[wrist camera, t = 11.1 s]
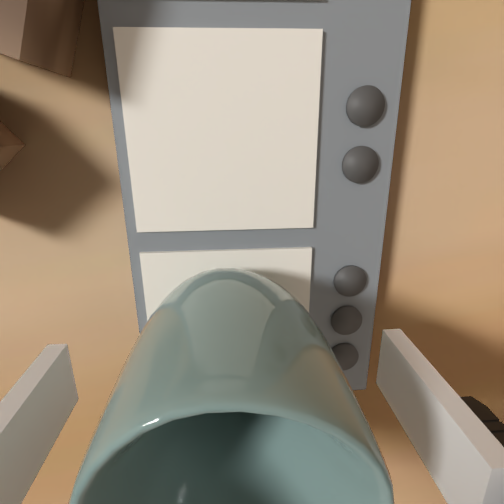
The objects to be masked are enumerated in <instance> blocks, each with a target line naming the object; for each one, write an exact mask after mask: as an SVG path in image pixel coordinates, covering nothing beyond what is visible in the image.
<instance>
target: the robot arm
mask: <svg viewBox="0 0 504 504" xmlns="http://www.w3.org/2000/svg"><path fill="white" fill-rule="evenodd" d="M376 384H377V385H378V387H379V389H380V390H381V392H382V394H383V395H384V397H385V399H386V401H387V402H388V404H389V406H390V407H391V409H392V411H393V412H394V414H395V416H396V417H397V419H398V421H399V422H400V424H401V426H402V428H403V429H404V431H405V433H406V434H407V436H408V438H409V439H410V441H411V443H412V444H413V446H414V448H415V449H416V451H417V453H418V455H419V456H420V458H421V460H422V461H423V463H424V465H425V466H426V468H427V470H428V471H429V473H430V475H431V476H432V478H433V480H434V482H435V483H436V485H437V487H438V488H439V490H440V492H441V493H442V495H443V497H444V498H445V500H446V502H447V503H448V504H504V424H503V423H502V422H499V419H498V418H497V417H496V416H495V415H494V414H493V413H492V411H491V410H490V409H489V408H488V407H487V406H485V405H484V404H482V403H481V402H479V401H478V400H476V399H474V398H473V397H471V396H469V397H459V395H458V394H457V393H456V392H455V391H454V390H453V389H452V387H451V386H450V385H449V384H448V383H447V382H446V381H445V379H444V378H443V377H442V376H441V375H440V374H439V373H438V371H437V370H436V369H435V368H434V367H433V366H432V365H431V363H430V362H429V361H428V360H427V359H426V358H425V357H424V355H423V354H422V353H421V352H420V351H419V350H418V349H417V347H416V346H415V345H414V344H413V343H412V342H411V341H410V339H409V338H408V337H407V336H406V335H405V334H404V333H403V331H402V330H401V329H383V332H382V339H381V347H380V355H379V363H378V371H377V379H376ZM77 401H78V394H77V389H76V384H75V380H74V375H73V370H72V365H71V360H70V355H69V350H68V345H67V344H50V345H47V346H46V347H45V348H44V350H43V351H42V352H41V353H40V354H39V356H38V357H37V358H36V359H35V360H34V362H33V363H32V364H31V365H30V366H29V368H28V369H27V370H26V371H25V372H24V374H23V375H22V376H21V377H20V378H19V380H18V381H17V382H16V383H15V384H14V386H13V387H12V388H11V389H10V391H9V392H8V393H7V394H6V395H5V397H4V398H3V399H2V400H1V401H0V504H21V503H22V501H23V500H24V498H25V496H26V494H27V492H28V490H29V489H30V487H31V485H32V483H33V481H34V479H35V478H36V476H37V474H38V472H39V470H40V468H41V467H42V465H43V463H44V461H45V459H46V457H47V456H48V454H49V452H50V450H51V448H52V447H53V445H54V443H55V441H56V439H57V437H58V436H59V434H60V432H61V430H62V428H63V426H64V425H65V423H66V421H67V419H68V417H69V415H70V414H71V412H72V410H73V408H74V406H75V405H76V403H77Z"/></svg>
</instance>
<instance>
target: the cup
mask: <svg viewBox="0 0 504 504" xmlns="http://www.w3.org/2000/svg"><path fill="white" fill-rule="evenodd" d="M68 504H394V495H393V485H392V480H391V476H390V473H389V470H388V467H387V465H386V462H385V459H384V457H383V455H382V452H381V450H380V448H379V446H378V443H377V441H376V439H375V437H374V435H373V432H372V430H371V428H370V426H369V424H368V422H367V420H366V417H365V415H364V413H363V411H362V409H361V407H360V405H359V403H358V400H357V398H356V396H355V394H354V392H353V390H352V388H351V386H350V384H349V382H348V380H347V378H346V376H345V374H344V372H343V370H342V368H341V366H340V364H339V362H338V360H337V358H336V356H335V354H334V352H333V350H332V348H331V346H330V344H329V342H328V341H327V339H326V337H325V336H324V334H323V332H322V330H321V329H320V327H319V326H318V324H317V323H316V321H315V320H314V319H313V317H312V316H311V315H310V314H309V312H308V311H307V310H306V309H305V307H304V306H303V305H302V304H301V303H300V301H299V300H298V299H297V298H296V297H295V296H294V295H292V294H291V293H290V292H289V291H288V290H286V289H285V288H284V287H283V286H281V285H280V284H278V283H276V282H274V281H273V280H271V279H269V278H267V277H265V276H263V275H260V274H257V273H254V272H251V271H249V270H243V269H237V268H216V269H211V270H206V271H203V272H200V273H198V274H196V275H194V276H192V277H190V278H188V279H186V280H185V281H183V282H182V283H181V284H179V285H178V286H177V287H175V288H174V289H173V290H172V291H171V292H170V293H169V294H168V295H167V296H166V297H165V299H164V300H163V301H162V302H161V303H160V304H159V305H158V307H157V308H156V309H155V311H154V312H153V313H152V315H151V316H150V318H149V320H148V321H147V323H146V325H145V326H144V328H143V330H142V331H141V333H140V335H139V337H138V338H137V340H136V342H135V344H134V346H133V347H132V349H131V351H130V353H129V355H128V357H127V359H126V361H125V363H124V365H123V367H122V370H121V372H120V374H119V376H118V378H117V381H116V383H115V385H114V387H113V389H112V392H111V394H110V396H109V399H108V401H107V403H106V405H105V408H104V410H103V412H102V415H101V417H100V419H99V421H98V424H97V426H96V428H95V431H94V433H93V435H92V438H91V440H90V443H89V445H88V447H87V450H86V453H85V455H84V458H83V460H82V463H81V466H80V469H79V472H78V475H77V478H76V481H75V484H74V487H73V490H72V493H71V496H70V499H69V502H68Z"/></svg>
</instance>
